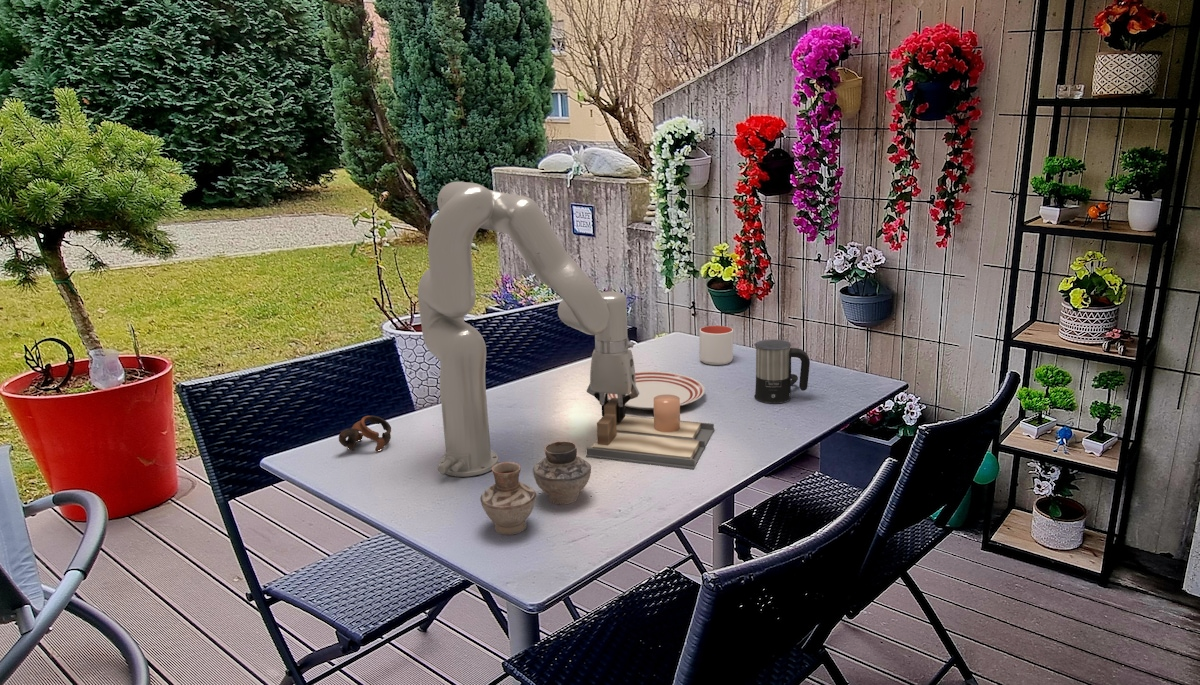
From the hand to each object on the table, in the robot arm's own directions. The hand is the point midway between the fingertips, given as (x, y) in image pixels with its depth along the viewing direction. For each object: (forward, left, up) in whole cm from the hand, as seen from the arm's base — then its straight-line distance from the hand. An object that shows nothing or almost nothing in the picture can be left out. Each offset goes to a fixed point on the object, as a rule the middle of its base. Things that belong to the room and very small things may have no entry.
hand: (613, 419), depth 183 cm
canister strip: (0, -9, -3) cm, 9 cm away
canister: (0, -13, -1) cm, 13 cm away
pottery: (-42, +1, -3) cm, 42 cm away
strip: (-11, -11, -3) cm, 15 cm away
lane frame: (-5, -11, -3) cm, 12 cm away
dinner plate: (+24, -3, -3) cm, 24 cm away
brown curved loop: (-25, +52, -3) cm, 58 cm away
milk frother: (+35, -34, -3) cm, 49 cm away
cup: (+60, -13, -3) cm, 61 cm away
